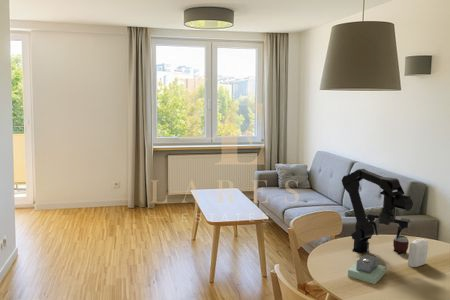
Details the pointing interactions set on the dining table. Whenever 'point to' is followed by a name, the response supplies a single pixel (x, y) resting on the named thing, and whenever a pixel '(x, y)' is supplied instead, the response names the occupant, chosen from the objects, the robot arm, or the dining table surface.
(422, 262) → the photo printer
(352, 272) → the sage stand
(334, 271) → the dining table surface
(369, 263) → the graphite housing
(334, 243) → the dining table surface
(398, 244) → the mate gourd
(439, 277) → the dining table surface
